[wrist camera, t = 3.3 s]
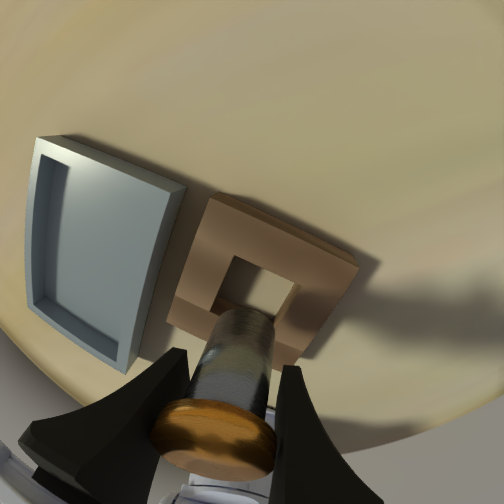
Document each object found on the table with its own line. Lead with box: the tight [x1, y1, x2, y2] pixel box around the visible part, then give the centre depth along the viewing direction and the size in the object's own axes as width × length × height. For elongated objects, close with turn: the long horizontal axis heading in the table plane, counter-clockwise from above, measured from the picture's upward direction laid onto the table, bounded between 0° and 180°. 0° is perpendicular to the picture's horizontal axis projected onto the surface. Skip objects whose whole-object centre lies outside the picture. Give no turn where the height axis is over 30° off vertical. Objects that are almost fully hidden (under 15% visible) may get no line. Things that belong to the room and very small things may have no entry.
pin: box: [149, 308, 277, 482], centre depth 10 cm, size 4×4×7 cm
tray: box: [25, 135, 187, 375], centre depth 18 cm, size 16×12×2 cm
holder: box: [166, 192, 360, 372], centre depth 17 cm, size 9×9×2 cm
